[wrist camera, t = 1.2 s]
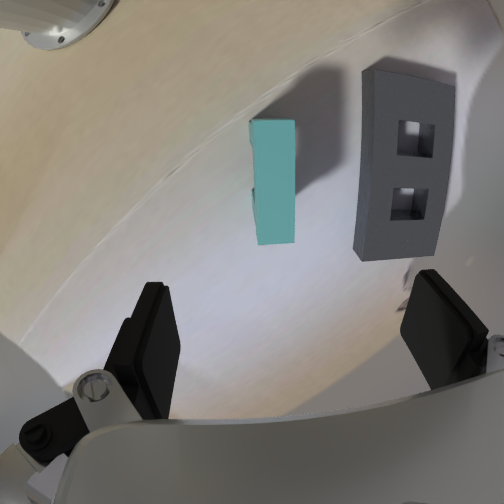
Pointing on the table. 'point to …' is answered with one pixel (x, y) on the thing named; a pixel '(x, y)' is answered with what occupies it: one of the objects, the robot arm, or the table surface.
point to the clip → (273, 179)
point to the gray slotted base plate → (402, 165)
